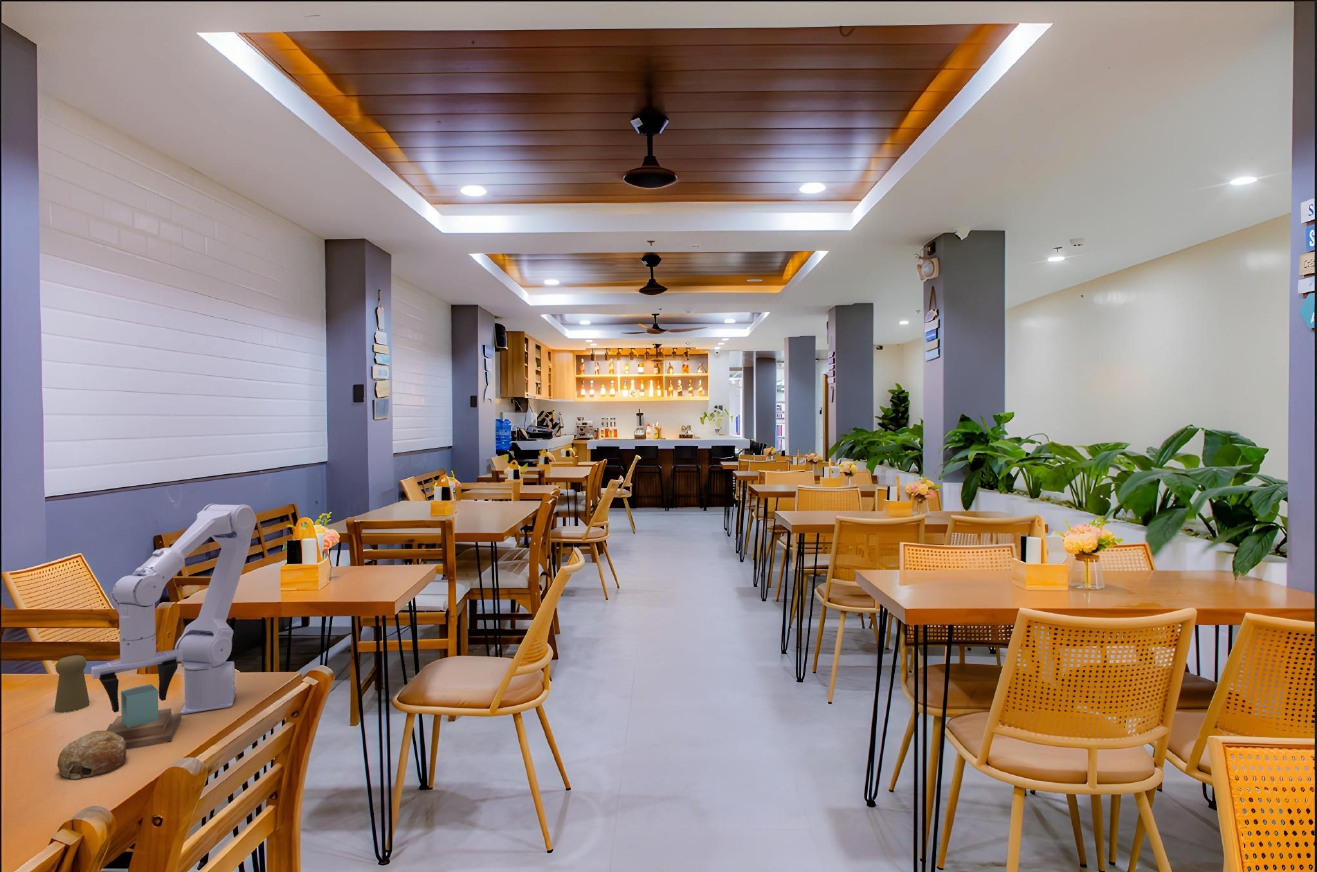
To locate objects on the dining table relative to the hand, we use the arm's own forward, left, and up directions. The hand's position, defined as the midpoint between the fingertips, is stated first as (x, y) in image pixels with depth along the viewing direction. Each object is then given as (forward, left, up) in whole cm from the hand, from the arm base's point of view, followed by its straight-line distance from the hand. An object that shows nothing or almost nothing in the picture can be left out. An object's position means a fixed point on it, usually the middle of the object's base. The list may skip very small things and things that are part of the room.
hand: (139, 704), depth 142 cm
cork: (+16, -24, -6) cm, 30 cm away
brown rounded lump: (+5, +11, -6) cm, 14 cm away
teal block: (0, 0, -3) cm, 3 cm away
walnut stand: (0, 0, -6) cm, 6 cm away
